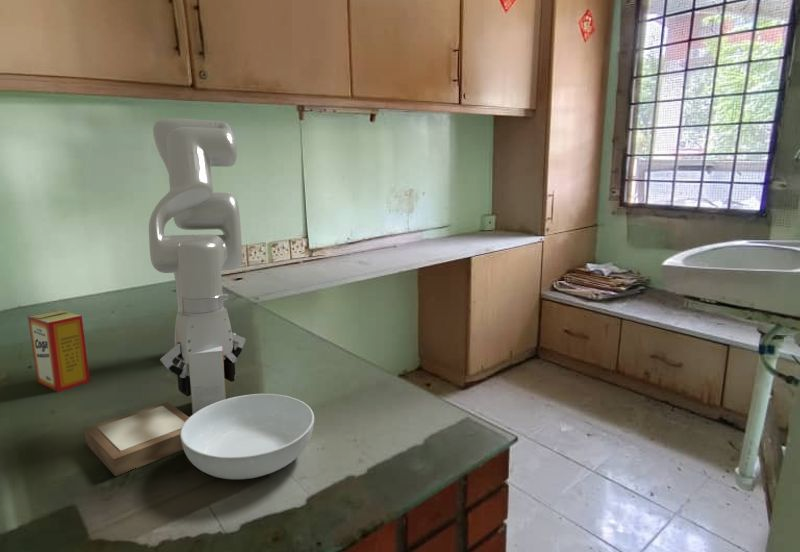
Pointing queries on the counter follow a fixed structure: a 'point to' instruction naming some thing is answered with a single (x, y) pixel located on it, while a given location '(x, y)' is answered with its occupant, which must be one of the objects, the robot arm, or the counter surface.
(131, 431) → the picture frame
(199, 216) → the robot arm
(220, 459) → the serving bowl
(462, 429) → the counter surface
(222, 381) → the small box
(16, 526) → the counter surface
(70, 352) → the baking soda box
